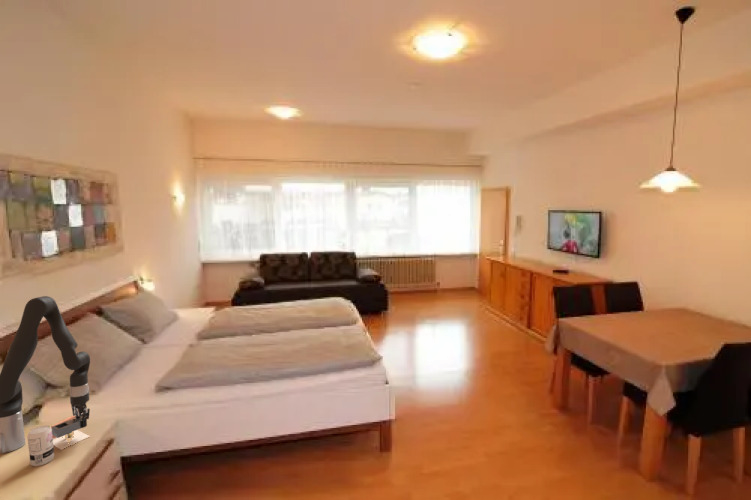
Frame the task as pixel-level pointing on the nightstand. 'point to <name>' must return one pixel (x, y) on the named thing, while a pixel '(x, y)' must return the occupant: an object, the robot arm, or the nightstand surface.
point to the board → (63, 443)
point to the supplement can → (40, 445)
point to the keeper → (63, 421)
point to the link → (66, 427)
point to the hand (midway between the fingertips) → (81, 425)
